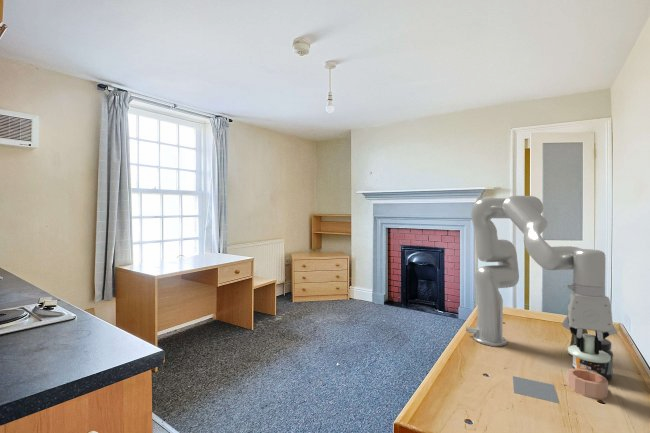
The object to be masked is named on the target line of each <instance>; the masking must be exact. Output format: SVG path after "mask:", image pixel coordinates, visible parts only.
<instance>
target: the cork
mask: <svg viewBox="0 0 650 433" xmlns="http://www.w3.org/2000/svg"><path fill="white" fill-rule="evenodd" d="M569 332H570V334H571V339H570V343H569V344H570V345H569V346H573V344H574V343H575V334H574V333H573V332H571V331H570V330H569ZM582 334H589V333H588V330H586V329H582ZM568 355H569V356H570V357H572V358H573V356H572V355H571V354H569V353H568Z"/></svg>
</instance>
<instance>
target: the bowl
mask: <svg viewBox="0 0 650 433" xmlns="http://www.w3.org/2000/svg"><path fill="white" fill-rule="evenodd" d="M566 383H567V387H568V388H569V389H570V390H571V391H573V392H574V393H576V394H578V395H581V396H584V397H588V398H590V399H596V400H597V399H598V400H599V399H605V398H607V397H608V392H609V381H607V379H606V378H605V377H603V376H601V375H600V374H598V373H595V372H592V371H589V370H584V369H579V368H573V367H572V368H570V369H568V370H567V381H566Z"/></svg>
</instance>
